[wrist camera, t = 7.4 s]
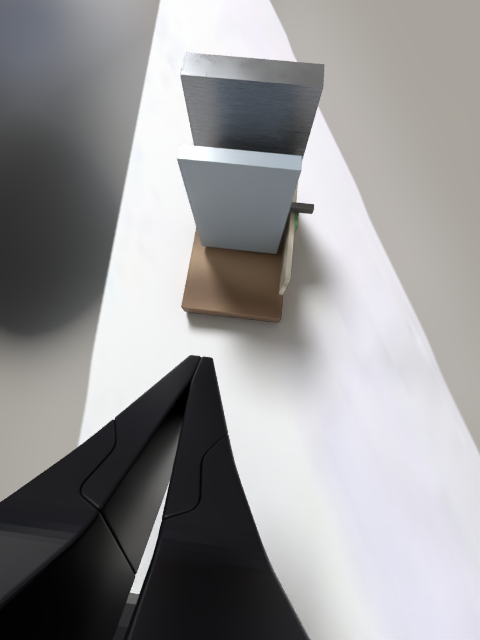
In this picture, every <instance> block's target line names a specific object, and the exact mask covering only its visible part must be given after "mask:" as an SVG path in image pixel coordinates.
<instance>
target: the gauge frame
mask: <svg viewBox="0 0 480 640" xmlns="http://www.w3.org/2000/svg"><path fill="white" fill-rule="evenodd" d="M297 185H298V183H297ZM296 199H297V186H296V189H295V193H294V196H293V200H292V202H295V203H296ZM298 214H299V213H298V212H289V213H288V216H287V220H286V223H285V227H284V230H283V233H282V237H281V240H280V243H279V247H278V250H277V253H276V254H271V253H262V252H253V251H244V250H235V249H225V248H216V247H207V246H202V244H201V241H200V237H199V234H198V230H197V227H196V232H195V238H194V243H193V248H192V253H191V259H190V264H189V269H188V275H187V280H186V285H185V290H184V296H183V301H182V306H181V307H182V308H183V310H184V311H185V312H193V313H202V314H210V315H219V316H227V317H236V318H245V319H253V320H262V321H270V322H279V321H280V320H281V314H282V302H283V294H284V292H285V290H286V288H287V286H288V284H289V283H290V281H291V267H292V253H293V240H294V234H295V231H296V229H297V226H298Z"/></svg>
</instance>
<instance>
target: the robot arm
mask: <svg viewBox="0 0 480 640" xmlns="http://www.w3.org/2000/svg"><path fill="white" fill-rule="evenodd" d="M169 481H170V483H169ZM168 483H169V488H168V492H167V497H166V502H165V506H164V511H163V516H162V522H161V526H160V530H159V534H158V538H157V542H156V546H155V550H154V554H153V557H152V560H151V563H150V565H149V568H148V571H147V574H146V577H145V580H144V583H143V585H142V588H141V591H140V594H134V593H130V590H131V587H132V585H133V582H134V579H135V574H136V573H137V570H138V568H139V565H140V562H141V559H142V556H143V554H144V551H145V548H146V545H147V542H148V539H149V537H150V534H151V531H152V528H153V525H154V523H155V520H156V517H157V514H158V511H159V509H160V506H161V503H162V500H163V497H164V495H165V492H166V489H167V486H168ZM0 640H310V639H309V637H308V635H307V633H306V631H305V629H304V627H303V625H302V623H301V622H300V620H299V618H298V616H297V614H296V612H295V610H294V608H293V606H292V604H291V603H290V601H289V599H288V597H287V595H286V593H285V591H284V589H283V587H282V586H281V584H280V582H279V580H278V578H277V576H276V574H275V572H274V570H273V568H272V566H271V563H270V561H269V559H268V556H267V554H266V551H265V549H264V546H263V544H262V541H261V538H260V536H259V533H258V530H257V527H256V524H255V522H254V519H253V516H252V513H251V510H250V507H249V504H248V501H247V499H246V496H245V493H244V490H243V487H242V484H241V481H240V478H239V475H238V471H237V468H236V465H235V461H234V457H233V453H232V449H231V445H230V440H229V435H228V430H227V426H226V421H225V416H224V411H223V406H222V401H221V396H220V391H219V386H218V382H217V377H216V372H215V367H214V362H213V359H212V358H211V357H202V358H201V357H200V356H194V355H190V356H189V357H187V358H186V359H185V360H184V361H183V362H181V363H180V364H179V365H178V366H177V367H175V368H174V369H173V370H172V371H171V372H169V373H168V374H167V375H166V376H165V377H163V378H162V379H161V380H160V381H159V382H157V383H156V384H155V385H154V386H152V387H151V388H150V389H149V390H148V391H146V392H145V393H144V394H143V395H142V396H140V397H139V398H138V399H137V400H136V401H134V402H133V403H132V404H131V405H130V406H128V407H127V408H126V409H125V410H124V411H122V412H121V413H120V414H119V415H118V416H116V417H115V420H111V421H110V422H109V423H108V424H107V425H105V426H104V427H103V428H102V429H101V430H99V431H98V432H97V433H96V434H94V435H93V436H92V437H91V438H89V439H88V440H87V441H85V442H84V443H83V444H81V445H80V446H79V447H77V448H76V449H75V450H73V451H72V452H71V453H69V454H68V455H67V456H65V457H64V458H62V459H61V460H60V461H58V462H57V463H55V464H54V465H53V466H51V467H50V468H49V469H47V470H45V471H44V472H43V473H41V474H40V475H39V476H37V477H36V478H34V479H33V480H31V481H30V482H29V483H27V484H26V485H24V486H23V487H21V488H20V489H19V490H17V491H16V492H14V493H13V494H12V495H10V496H9V497H7V498H6V499H4V500H3V501H1V502H0Z"/></svg>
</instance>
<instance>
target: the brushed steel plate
mask: <svg viewBox="0 0 480 640" xmlns="http://www.w3.org/2000/svg"><path fill="white" fill-rule="evenodd" d="M180 76H181V81H182V86H183V91H184V96H185V101H186V106H187V111H188V117H189V122H190V127H191V132H192V137H193V142H194V146H203V147H213V148H224V149H234V150H244V151H255V152H265V153H275V154H286V155H296V156H302V159H303V156H304V152H305V149H306V145H307V142H308V138H309V135H310V131H311V128H312V124H313V121H314V117H315V114H316V110H317V107H318V103H319V100H320V96H321V93H322V90H323V81H324V80H323V79H324V64H312V63H301V62H290V61H278V60H266V59H255V58H243V57H231V56H220V55H208V54H196V53H186V54H185V58H184V62H183V66H182V69H181V73H180Z"/></svg>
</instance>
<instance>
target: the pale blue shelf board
mask: <svg viewBox="0 0 480 640" xmlns="http://www.w3.org/2000/svg"><path fill="white" fill-rule="evenodd" d="M177 160H178V164H179V167H180V171H181V174H182V178H183V181H184V185H185V188H186V192H187V195H188V199H189V202H190V206H191V209H192V213H193V216H194V220H195V223H196V227H197V230H198V234H199V237H200V241H201V244H202V246H207V247H216V248H225V249H235V250H244V251H253V252H262V253H271V254H276V253H277V250H278V247H279V243H280V240H281V237H282V233H283V230H284V227H285V223H286V220H287V216H288V213H289V212H298V213H308V214H312V213H313V210H314V204H305V203H295V202H292V200H293V196H294V193H295V189H296V186H297V183H298V179H299V176H300V173H301V166H302V156H296V155H286V154H275V153H265V152H255V151H244V150H234V149H224V148H213V147H203V146H193V145H182V144H180V147H179V151H178V155H177Z"/></svg>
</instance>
